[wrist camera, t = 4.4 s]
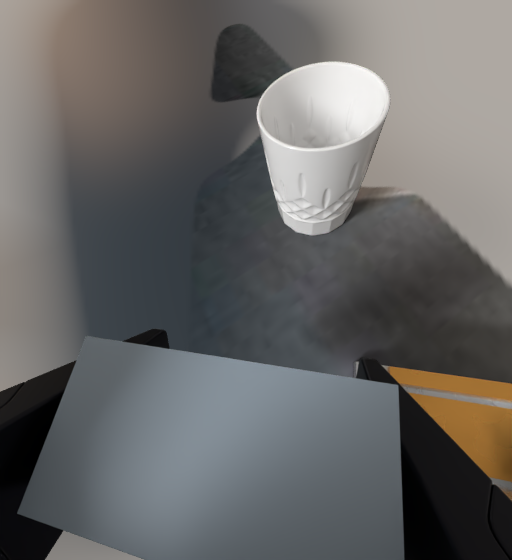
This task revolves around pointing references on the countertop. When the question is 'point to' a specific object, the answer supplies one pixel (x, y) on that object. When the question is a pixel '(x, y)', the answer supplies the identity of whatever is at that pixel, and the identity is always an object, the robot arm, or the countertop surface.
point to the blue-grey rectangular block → (220, 459)
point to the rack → (467, 416)
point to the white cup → (321, 140)
